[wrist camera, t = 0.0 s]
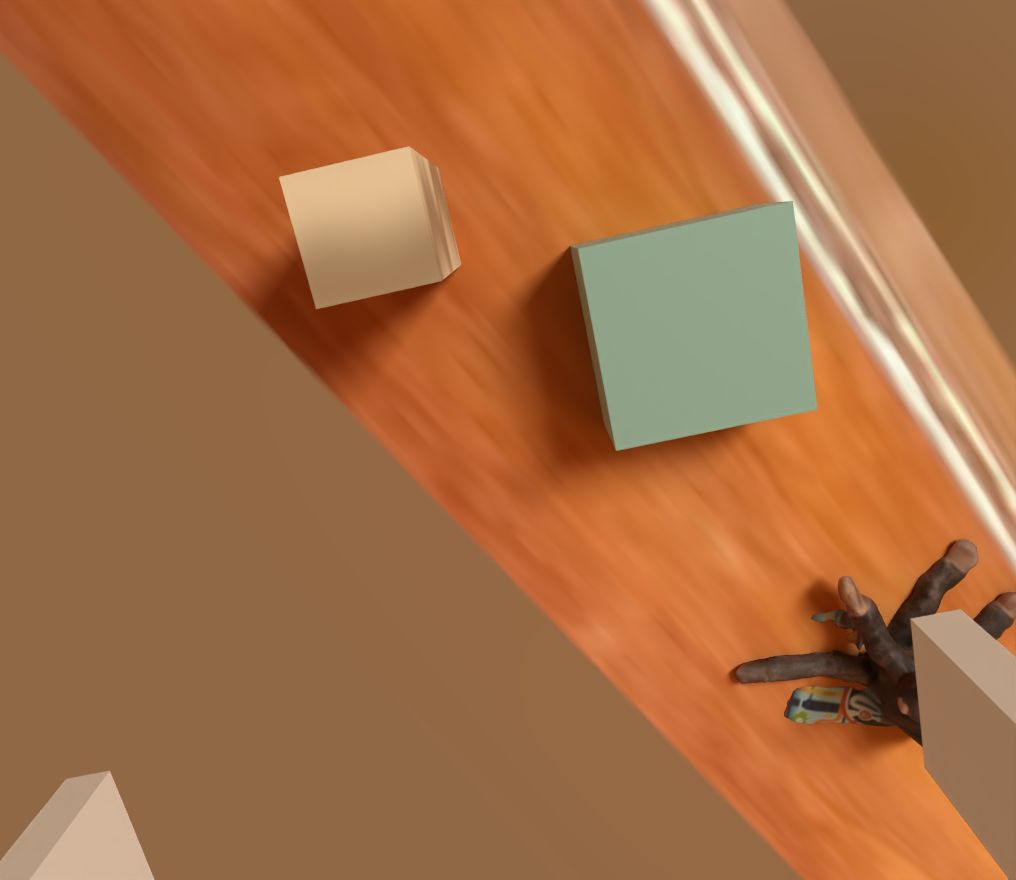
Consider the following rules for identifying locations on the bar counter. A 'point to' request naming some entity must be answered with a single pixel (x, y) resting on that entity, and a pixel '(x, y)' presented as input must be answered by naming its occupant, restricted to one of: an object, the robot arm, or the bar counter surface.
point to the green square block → (697, 324)
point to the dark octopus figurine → (876, 653)
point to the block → (371, 226)
